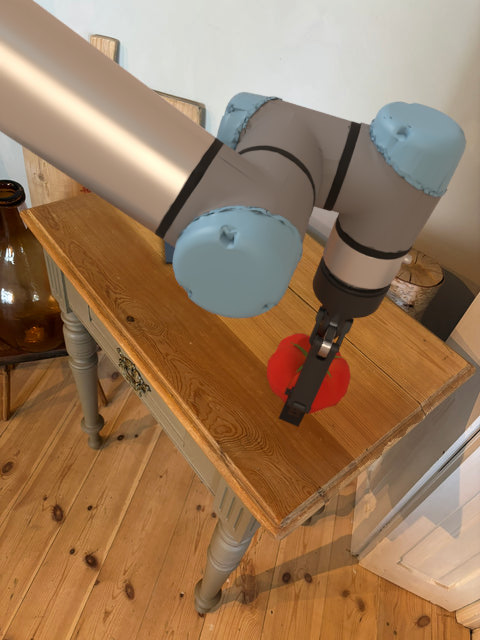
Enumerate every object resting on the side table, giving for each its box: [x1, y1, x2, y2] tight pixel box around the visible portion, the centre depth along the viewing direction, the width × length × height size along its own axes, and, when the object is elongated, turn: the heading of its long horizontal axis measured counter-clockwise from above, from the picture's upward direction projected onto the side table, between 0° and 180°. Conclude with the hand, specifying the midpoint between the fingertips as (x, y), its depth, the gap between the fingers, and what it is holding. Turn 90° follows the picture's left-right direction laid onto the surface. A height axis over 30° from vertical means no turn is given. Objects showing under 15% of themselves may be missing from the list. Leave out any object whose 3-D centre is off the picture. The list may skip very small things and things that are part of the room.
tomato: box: [266, 332, 352, 414], centre depth 61 cm, size 11×11×8 cm
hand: (301, 387), depth 63 cm, fingers closed on tomato, 11 cm apart
